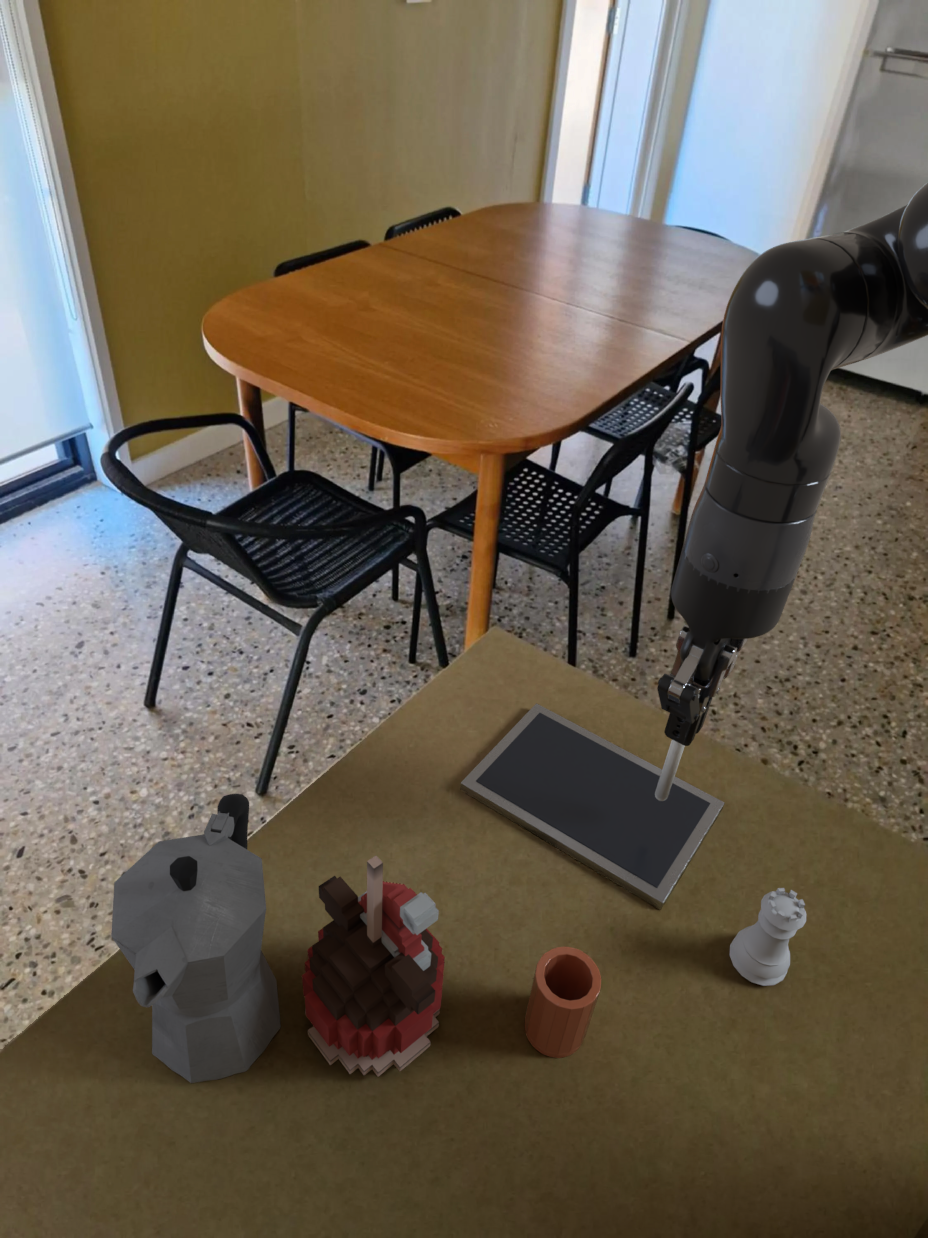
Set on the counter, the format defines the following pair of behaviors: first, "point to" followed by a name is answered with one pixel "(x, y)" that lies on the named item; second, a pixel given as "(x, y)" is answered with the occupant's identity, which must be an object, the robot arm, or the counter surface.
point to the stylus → (669, 770)
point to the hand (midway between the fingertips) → (682, 732)
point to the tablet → (594, 803)
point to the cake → (374, 975)
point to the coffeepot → (201, 947)
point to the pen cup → (561, 1001)
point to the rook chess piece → (769, 939)
